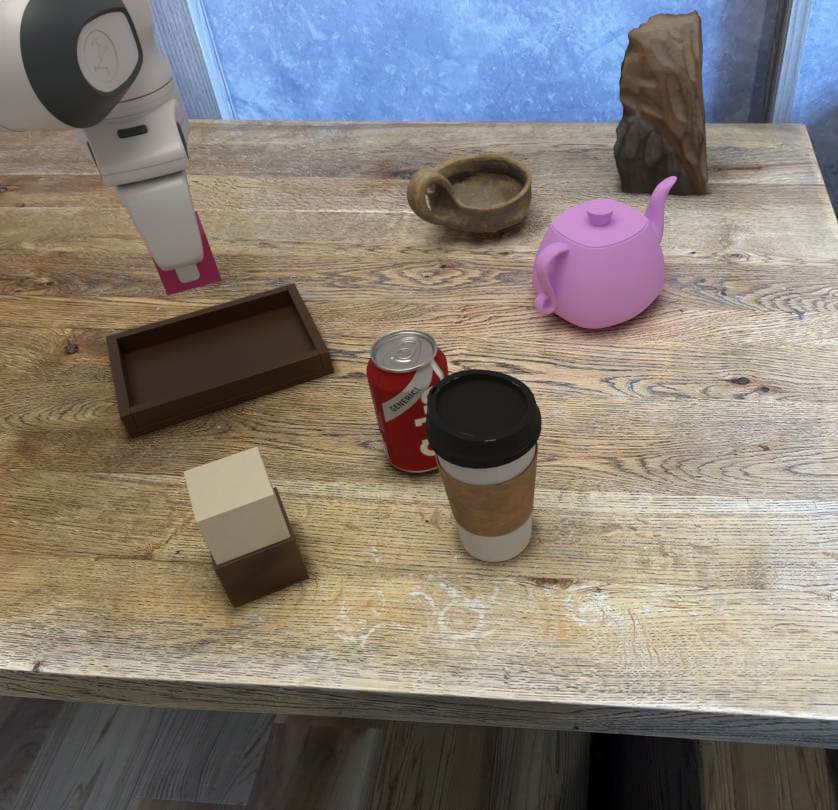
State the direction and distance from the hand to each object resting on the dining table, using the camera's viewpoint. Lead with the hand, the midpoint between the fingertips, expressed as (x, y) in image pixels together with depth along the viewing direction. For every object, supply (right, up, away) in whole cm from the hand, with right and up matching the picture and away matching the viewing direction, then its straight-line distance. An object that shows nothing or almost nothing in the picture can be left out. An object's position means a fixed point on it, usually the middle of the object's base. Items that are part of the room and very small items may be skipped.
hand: (184, 261), depth 77 cm
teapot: (+41, -1, +15) cm, 44 cm away
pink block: (0, -1, +1) cm, 2 cm away
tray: (0, -9, +8) cm, 13 cm away
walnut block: (+11, -27, -11) cm, 31 cm away
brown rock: (+51, +17, +35) cm, 64 cm away
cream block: (+11, -23, -14) cm, 29 cm away
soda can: (+23, -18, -2) cm, 29 cm away
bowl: (+25, +9, +28) cm, 39 cm away
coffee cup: (+30, -24, -9) cm, 40 cm away
